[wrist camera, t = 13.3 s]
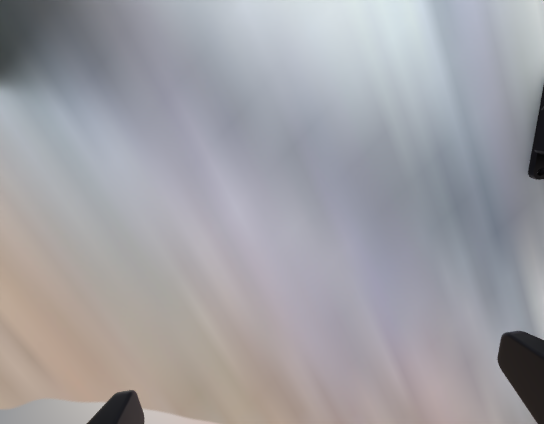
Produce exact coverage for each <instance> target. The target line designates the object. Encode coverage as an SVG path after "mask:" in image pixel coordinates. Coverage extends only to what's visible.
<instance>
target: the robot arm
mask: <svg viewBox="0 0 544 424" xmlns="http://www.w3.org/2000/svg"><path fill="white" fill-rule="evenodd" d="M538 170H539V172H538ZM537 172H538V173H537ZM528 175H529V177H531V178H534V179H539V180H540V179H544V87H543V92H542V98H541V103H540V109H539V115H538V120H537V126H536V131H535V137H534V142H533V148H532V154H531V159H530V165H529V170H528ZM498 363H499V366H500V368H501V370H502V371H503V373H504V374H505V376H506V377H507V379H508V380H509V382H510V383H511V385H512V386H513V388H514V389H515V391H516V392H517V394H518V395H519V397H520V398H521V400H522V401H523V403H524V404H525V406H526V407H527V409H528V410H529V412H530V413H531V414H532V416H533V417H534V419H535V420H536V422H537V423H538V424H544V340H542V339H540V338H537V337H535V336H533V335H530V334H528V333H526V332H523V331H514V332H507V333H504V334H503V335H502V337H501V341H500V347H499V352H498ZM87 424H144V413H143V410H142V407H141V404H140V402H139V399H138V396H137V393H136V392H135V391H134V390H129V391H123V392H118V393H116V394H114V395H113V396H112V397H111V398H110V399H109V401H108V402H107V403H106V404H105V405H104V406H103V407H102V408H101V409H100V410H99V411H98V412H97V413H96V414H95V416H94V417H93V418H92V419H91V420H90V421H89V422H88V423H87Z"/></svg>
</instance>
